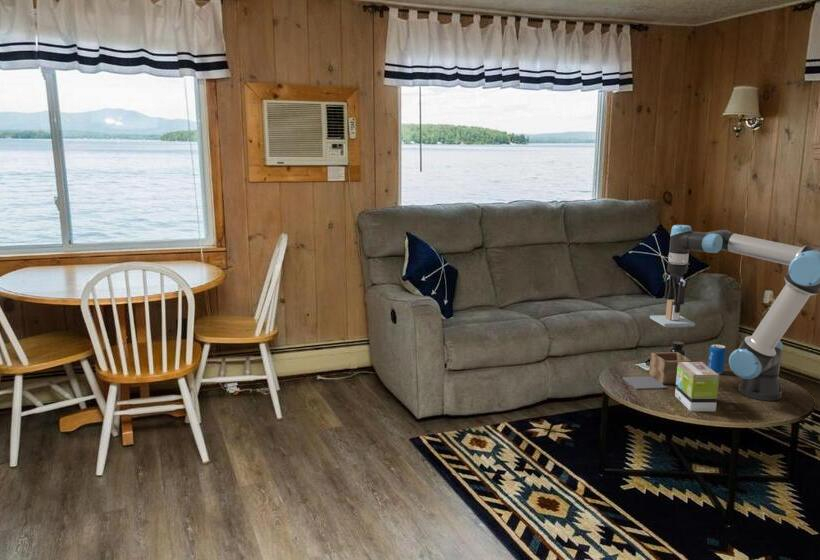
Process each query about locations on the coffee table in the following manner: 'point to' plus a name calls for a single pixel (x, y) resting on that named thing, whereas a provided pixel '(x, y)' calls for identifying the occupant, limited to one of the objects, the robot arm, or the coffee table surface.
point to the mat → (644, 382)
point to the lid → (667, 319)
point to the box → (666, 366)
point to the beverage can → (717, 358)
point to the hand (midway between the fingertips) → (672, 318)
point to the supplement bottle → (678, 348)
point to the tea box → (697, 386)
